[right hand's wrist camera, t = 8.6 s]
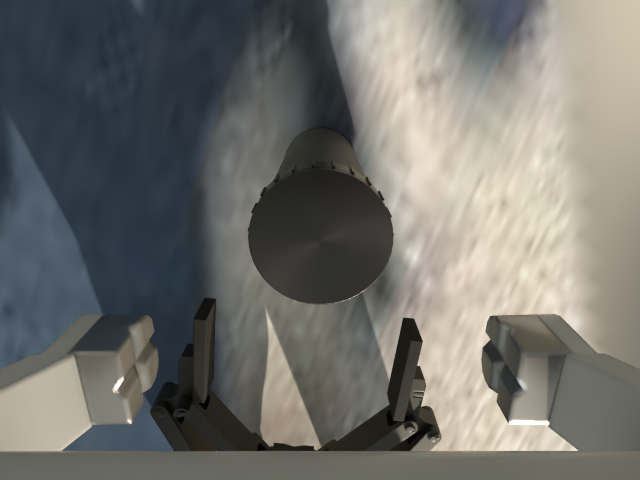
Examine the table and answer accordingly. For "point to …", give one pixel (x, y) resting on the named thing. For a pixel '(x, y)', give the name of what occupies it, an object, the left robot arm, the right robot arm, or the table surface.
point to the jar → (320, 150)
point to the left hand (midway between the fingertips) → (310, 318)
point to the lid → (320, 233)
